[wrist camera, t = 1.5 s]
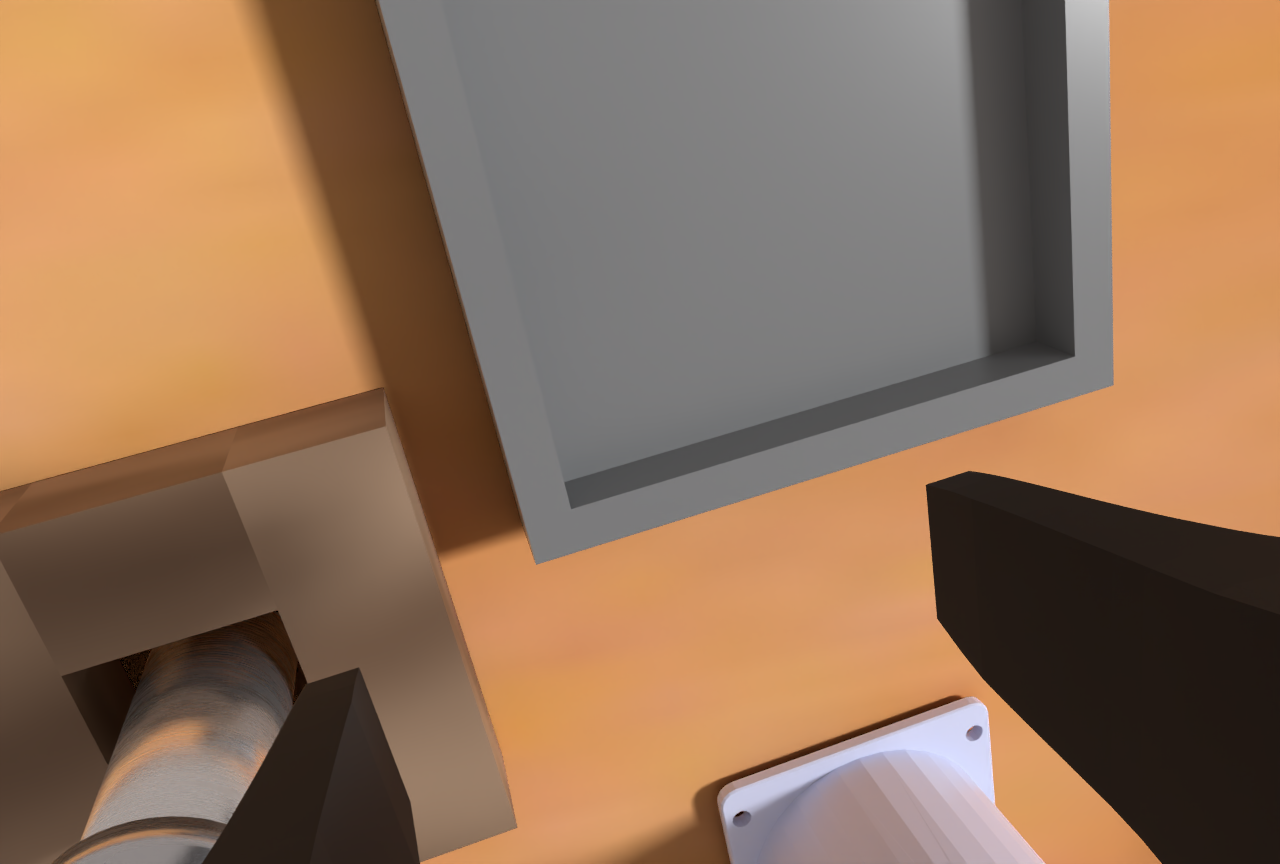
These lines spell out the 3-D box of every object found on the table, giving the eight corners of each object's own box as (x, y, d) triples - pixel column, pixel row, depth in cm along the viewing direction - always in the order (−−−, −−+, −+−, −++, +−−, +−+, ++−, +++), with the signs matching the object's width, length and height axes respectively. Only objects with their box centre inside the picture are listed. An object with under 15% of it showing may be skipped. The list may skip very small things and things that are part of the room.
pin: (339, 697, 23) (328, 991, 15) (170, 752, 22) (76, 1086, 15) (283, 557, 21) (242, 809, 14) (101, 611, 21) (-42, 905, 13)
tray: (1058, 362, 25) (1113, 385, 23) (521, 524, 22) (536, 564, 21) (1030, -422, 19) (1103, -477, 17) (287, -312, 16) (277, -361, 14)
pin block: (502, 757, 24) (517, 827, 22) (84, 901, 23) (52, 992, 20) (383, 387, 20) (386, 426, 18) (-131, 527, 19) (-200, 589, 17)
